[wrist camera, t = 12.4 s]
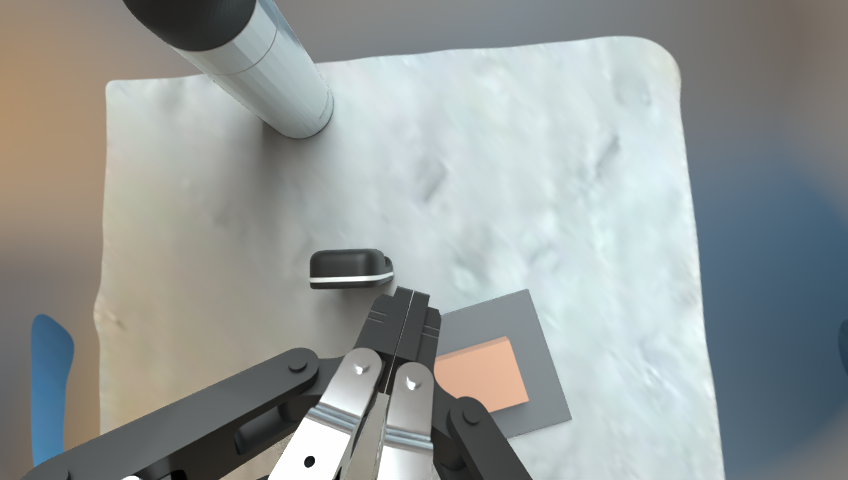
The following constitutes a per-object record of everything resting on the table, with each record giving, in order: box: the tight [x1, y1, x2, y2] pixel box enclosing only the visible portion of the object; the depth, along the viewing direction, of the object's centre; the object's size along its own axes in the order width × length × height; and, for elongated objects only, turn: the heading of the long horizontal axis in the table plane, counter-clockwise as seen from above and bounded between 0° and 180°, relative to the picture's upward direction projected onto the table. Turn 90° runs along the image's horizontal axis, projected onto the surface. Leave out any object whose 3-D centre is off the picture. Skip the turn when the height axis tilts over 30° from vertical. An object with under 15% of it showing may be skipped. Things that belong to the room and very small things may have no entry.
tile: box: [434, 336, 529, 412], centre depth 36 cm, size 2×7×12 cm
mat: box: [436, 289, 572, 438], centre depth 38 cm, size 15×16×1 cm
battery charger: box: [309, 249, 394, 289], centre depth 34 cm, size 7×4×11 cm, turn 92°
